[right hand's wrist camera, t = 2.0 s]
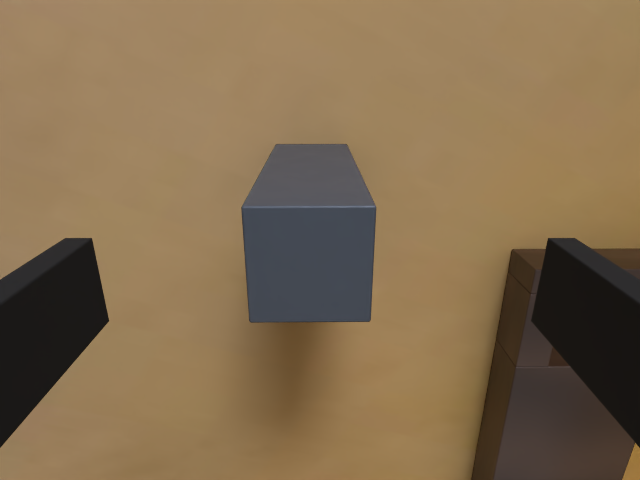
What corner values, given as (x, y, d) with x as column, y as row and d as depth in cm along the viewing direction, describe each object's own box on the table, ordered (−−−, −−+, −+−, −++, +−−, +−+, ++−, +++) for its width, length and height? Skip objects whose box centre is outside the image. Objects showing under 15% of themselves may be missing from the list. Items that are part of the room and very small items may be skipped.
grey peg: (345, 212, 25) (370, 322, 14) (278, 212, 25) (248, 323, 14) (347, 143, 24) (376, 205, 13) (275, 144, 24) (240, 206, 13)
